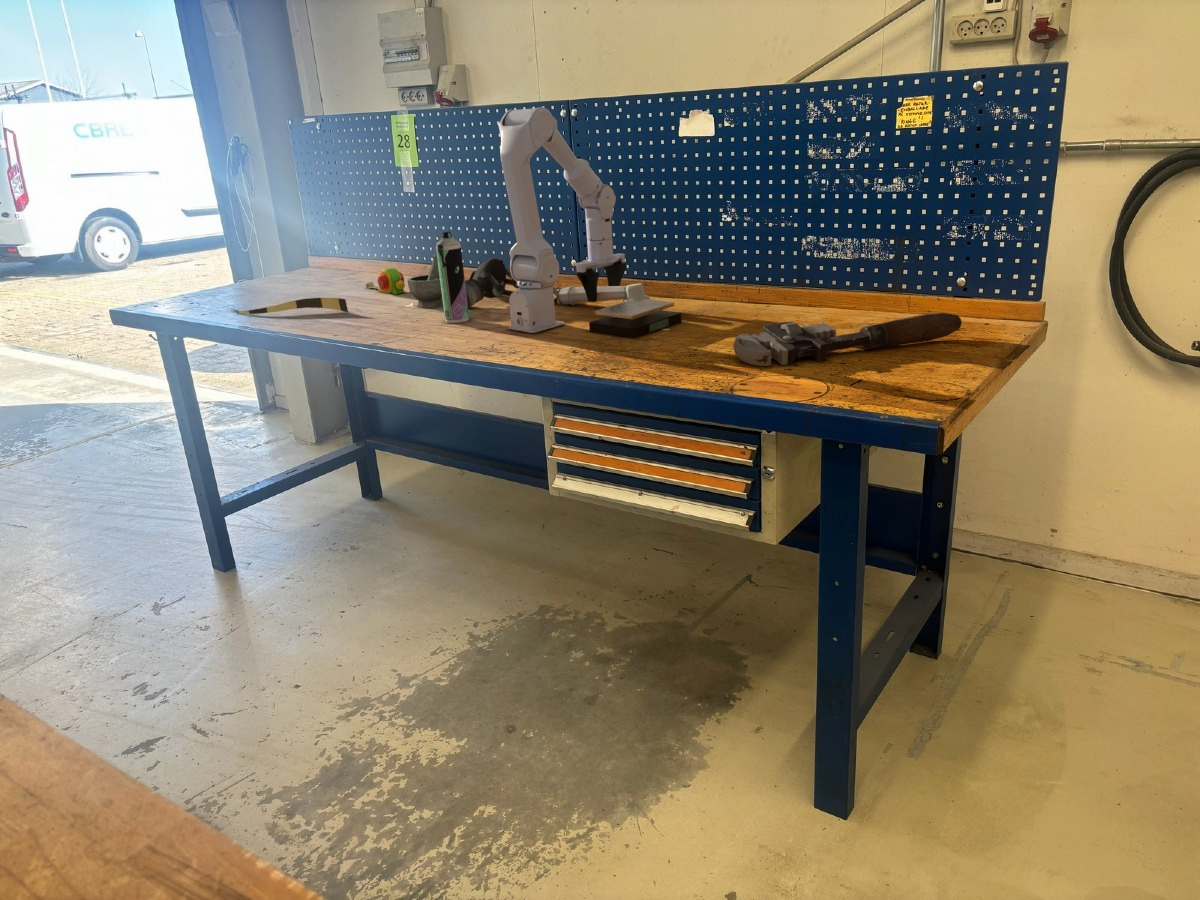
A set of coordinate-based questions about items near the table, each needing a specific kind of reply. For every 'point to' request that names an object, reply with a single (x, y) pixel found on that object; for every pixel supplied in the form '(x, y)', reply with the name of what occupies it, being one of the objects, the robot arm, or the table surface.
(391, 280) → the toy measuring tape
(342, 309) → the tape
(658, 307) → the pan
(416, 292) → the mortar and pestle
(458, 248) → the spray can
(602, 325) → the scale
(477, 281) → the respirator mask
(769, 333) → the pipe wrench
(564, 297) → the pale grey handled tool
